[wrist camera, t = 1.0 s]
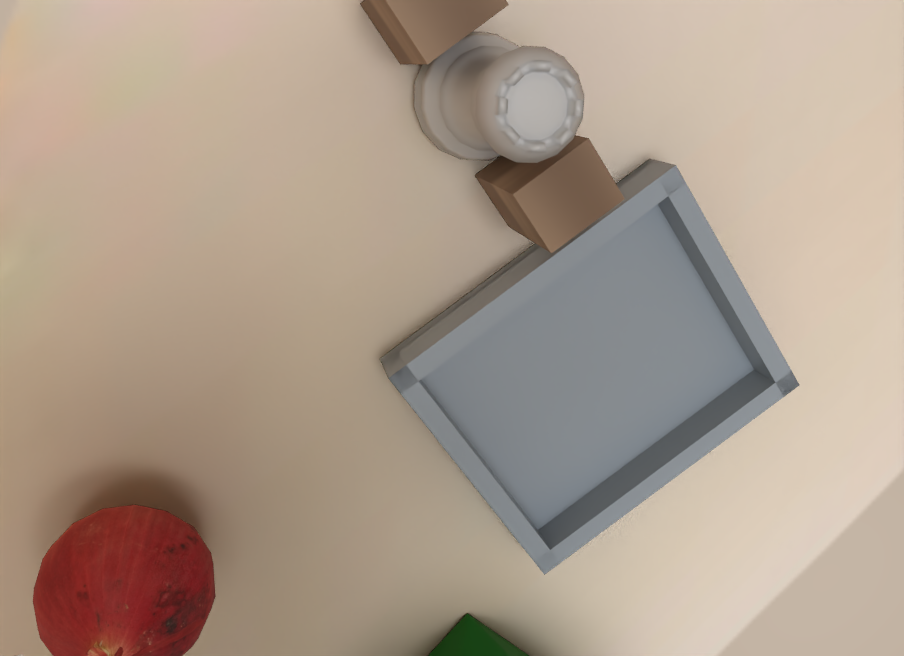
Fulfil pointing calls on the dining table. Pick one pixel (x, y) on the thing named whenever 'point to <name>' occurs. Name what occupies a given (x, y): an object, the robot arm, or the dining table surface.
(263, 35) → the dining table surface
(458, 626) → the milk carton
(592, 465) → the tray
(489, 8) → the walnut posts
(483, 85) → the rook chess piece
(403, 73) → the dining table surface
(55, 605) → the red round fruit
